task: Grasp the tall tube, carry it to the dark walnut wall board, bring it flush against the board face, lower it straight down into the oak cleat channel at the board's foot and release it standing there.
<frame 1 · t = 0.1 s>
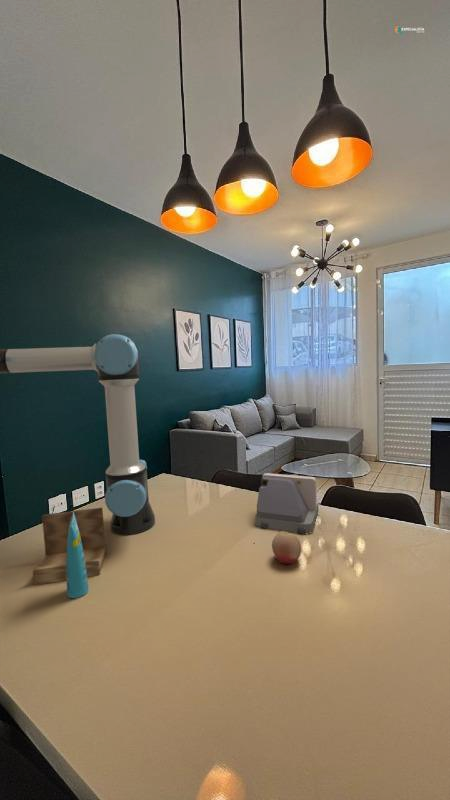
instant camera: (287, 520, 119), on the table
cleat board: (75, 561, 98), on the table
fruit: (286, 561, 94), on the table
tube: (78, 592, 84), on the table
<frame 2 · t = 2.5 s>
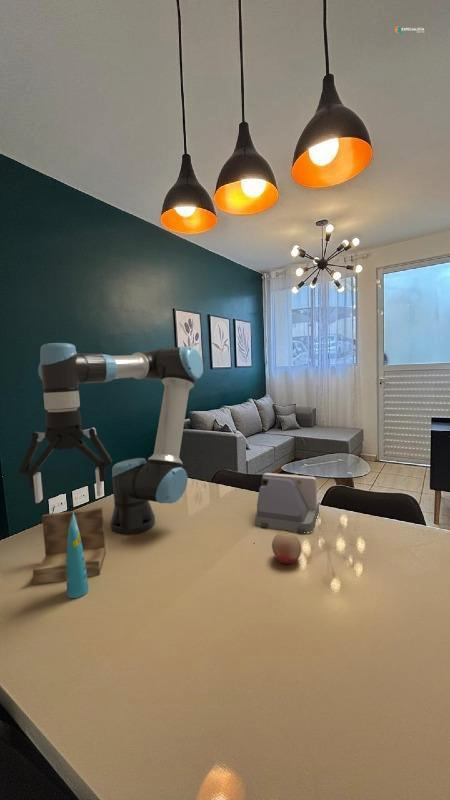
hand: (70, 497, 82), 24 cm above the table, fingers open, 13 cm apart
nothing on the table moved.
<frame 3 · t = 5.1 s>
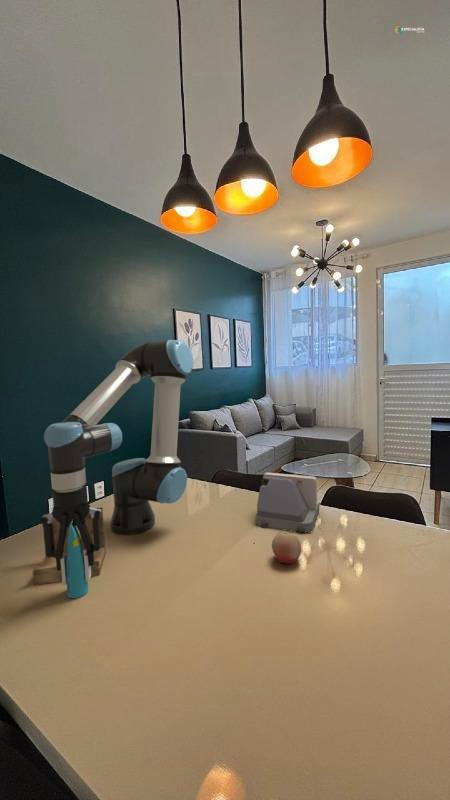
hand: (77, 579, 84), 3 cm above the table, fingers closed on tube, 5 cm apart
tube: (78, 592, 84), on the table, touching gripper
everything else where it was.
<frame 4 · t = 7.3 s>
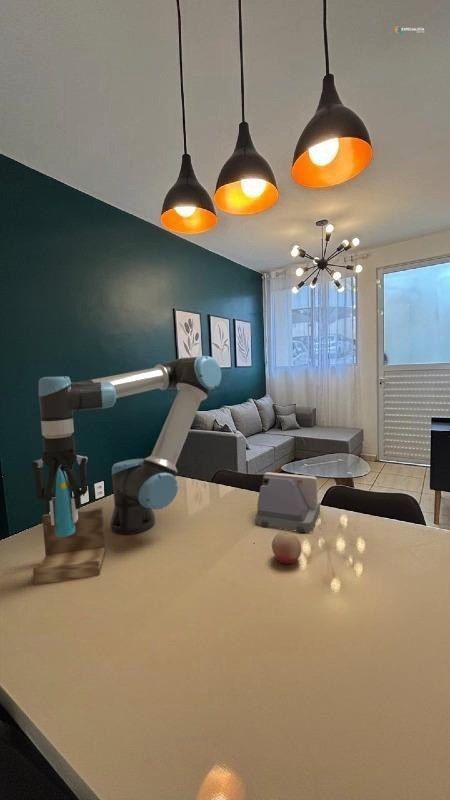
hand: (65, 521, 91), 14 cm above the table, fingers closed on tube, 5 cm apart
tube: (66, 533, 91), point 11 cm above the table, touching gripper
everything else where it was.
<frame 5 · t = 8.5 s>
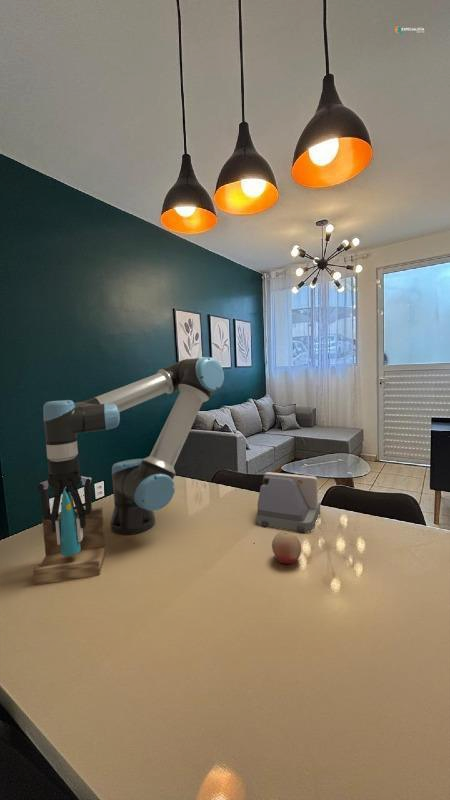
hand: (70, 540, 94), 8 cm above the table, fingers closed on tube, 5 cm apart
tube: (71, 552, 94), point 5 cm above the table, touching gripper
when the fingers open (6 cm above the table, at t = 9.5 s): tube stays where it is, resting on cleat board.
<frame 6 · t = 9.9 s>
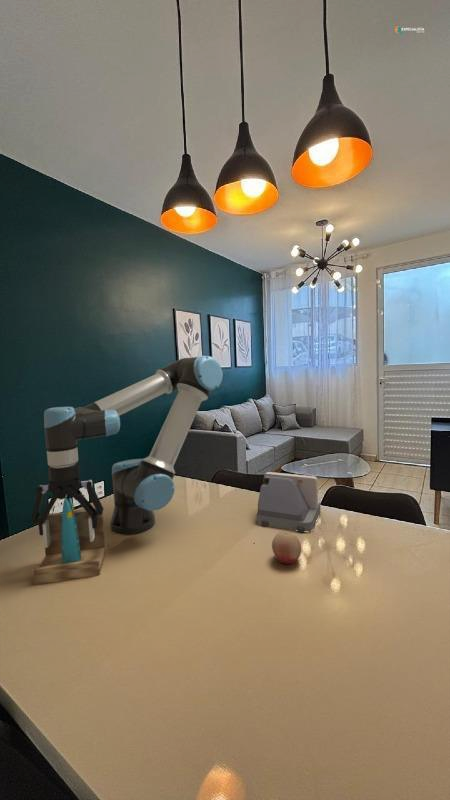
hand: (70, 542, 94), 7 cm above the table, fingers open, 11 cm apart
tube: (72, 560, 94), point 2 cm above the table, touching cleat board
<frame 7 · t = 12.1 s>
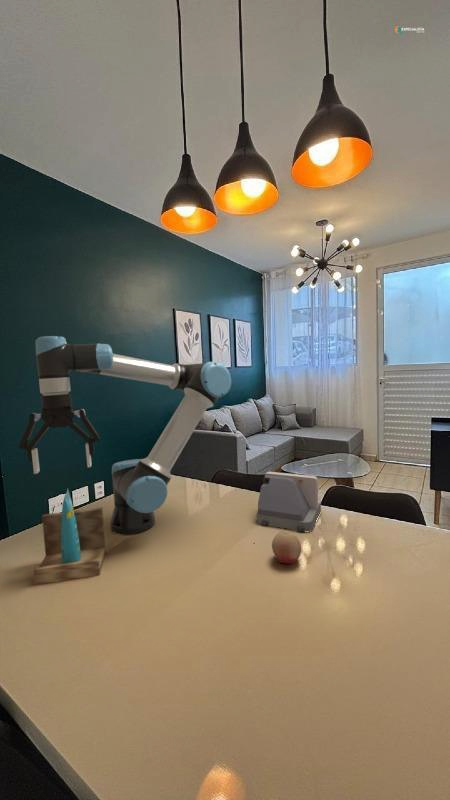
hand: (63, 469, 95), 27 cm above the table, fingers open, 13 cm apart
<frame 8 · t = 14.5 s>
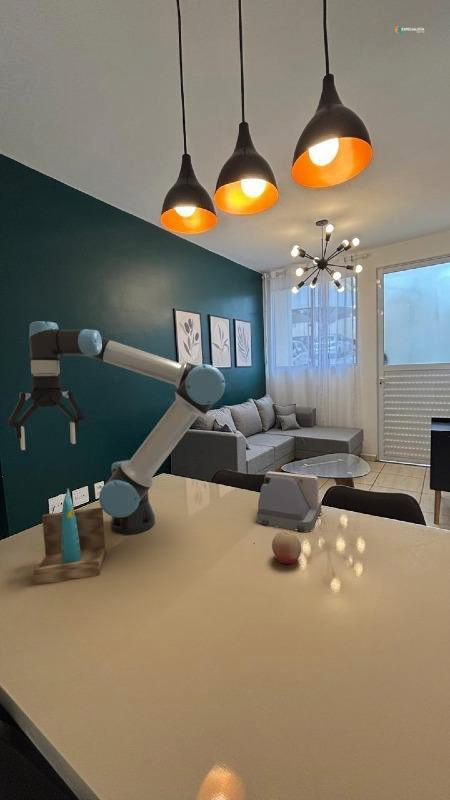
hand: (49, 446, 102), 33 cm above the table, fingers open, 13 cm apart
at the end: tube inside the target area on the cleat board (0.3 cm from its centre), point 2.3 cm above the cleat board's base; tube tilted 0°; the gripper is holding nothing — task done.
